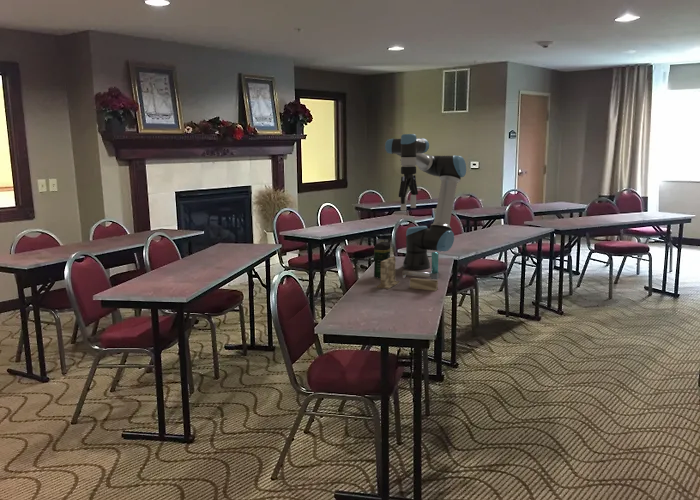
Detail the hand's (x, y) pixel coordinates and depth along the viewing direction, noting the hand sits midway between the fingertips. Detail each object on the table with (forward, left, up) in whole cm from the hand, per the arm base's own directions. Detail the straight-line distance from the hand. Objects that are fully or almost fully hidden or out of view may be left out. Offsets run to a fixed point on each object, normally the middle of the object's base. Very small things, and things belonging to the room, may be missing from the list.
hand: (408, 209), depth 289 cm
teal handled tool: (+12, +11, -32) cm, 36 cm away
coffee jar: (-4, -16, -37) cm, 40 cm away
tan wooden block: (+12, -6, -37) cm, 39 cm away
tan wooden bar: (+12, +12, -37) cm, 41 cm away
